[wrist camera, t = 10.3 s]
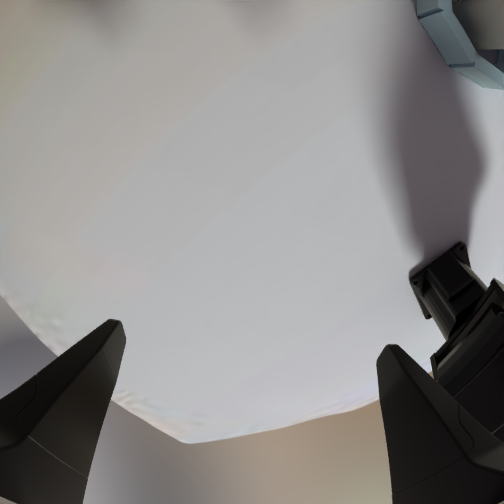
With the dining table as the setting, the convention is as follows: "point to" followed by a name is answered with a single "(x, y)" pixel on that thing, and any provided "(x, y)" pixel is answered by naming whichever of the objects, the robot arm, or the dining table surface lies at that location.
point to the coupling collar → (458, 44)
